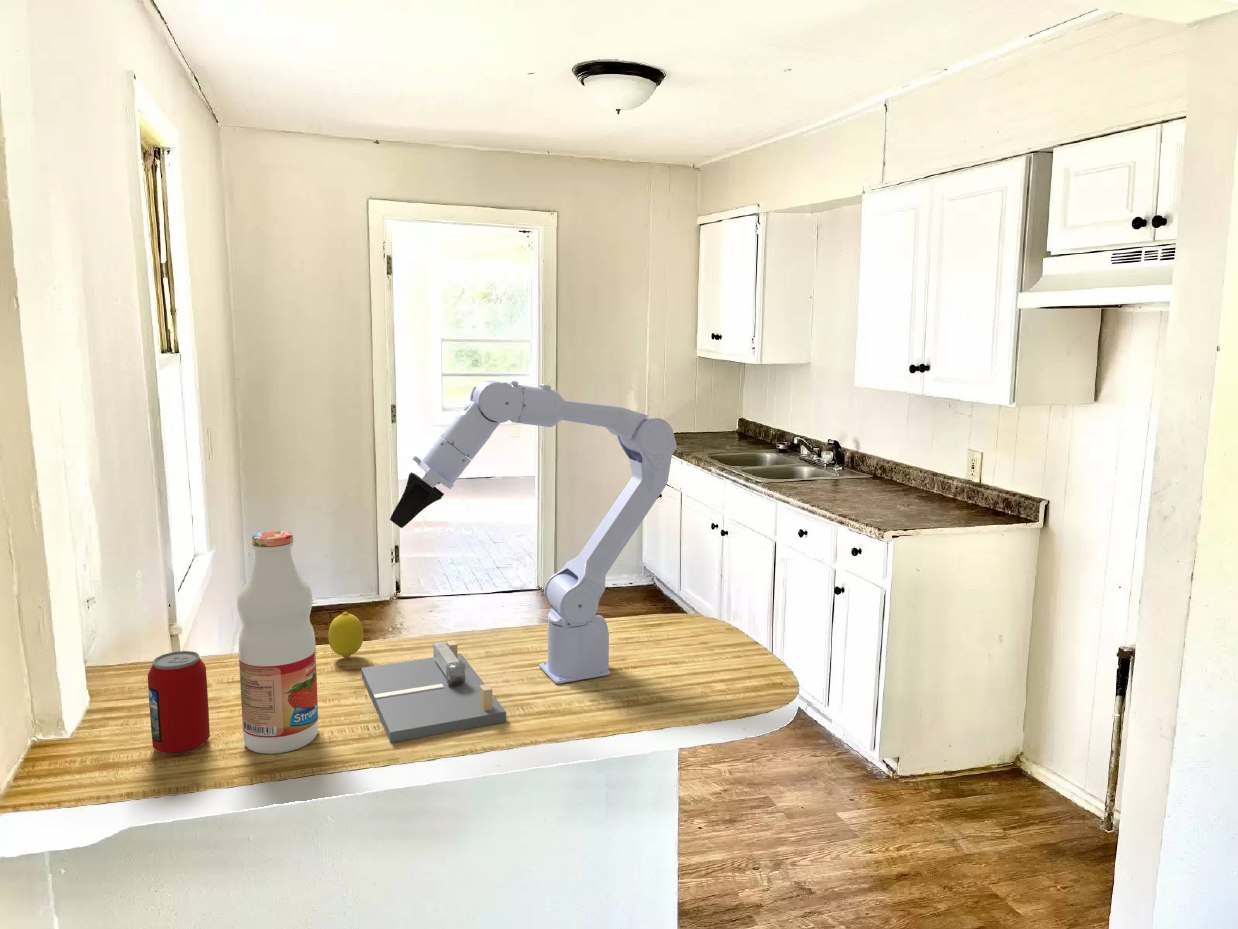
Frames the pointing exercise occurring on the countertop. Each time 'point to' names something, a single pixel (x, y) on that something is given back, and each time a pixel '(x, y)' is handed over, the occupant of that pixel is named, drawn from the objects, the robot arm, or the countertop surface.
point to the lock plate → (429, 698)
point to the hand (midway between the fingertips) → (397, 522)
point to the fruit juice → (277, 651)
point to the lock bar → (449, 664)
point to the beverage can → (178, 702)
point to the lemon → (345, 635)
